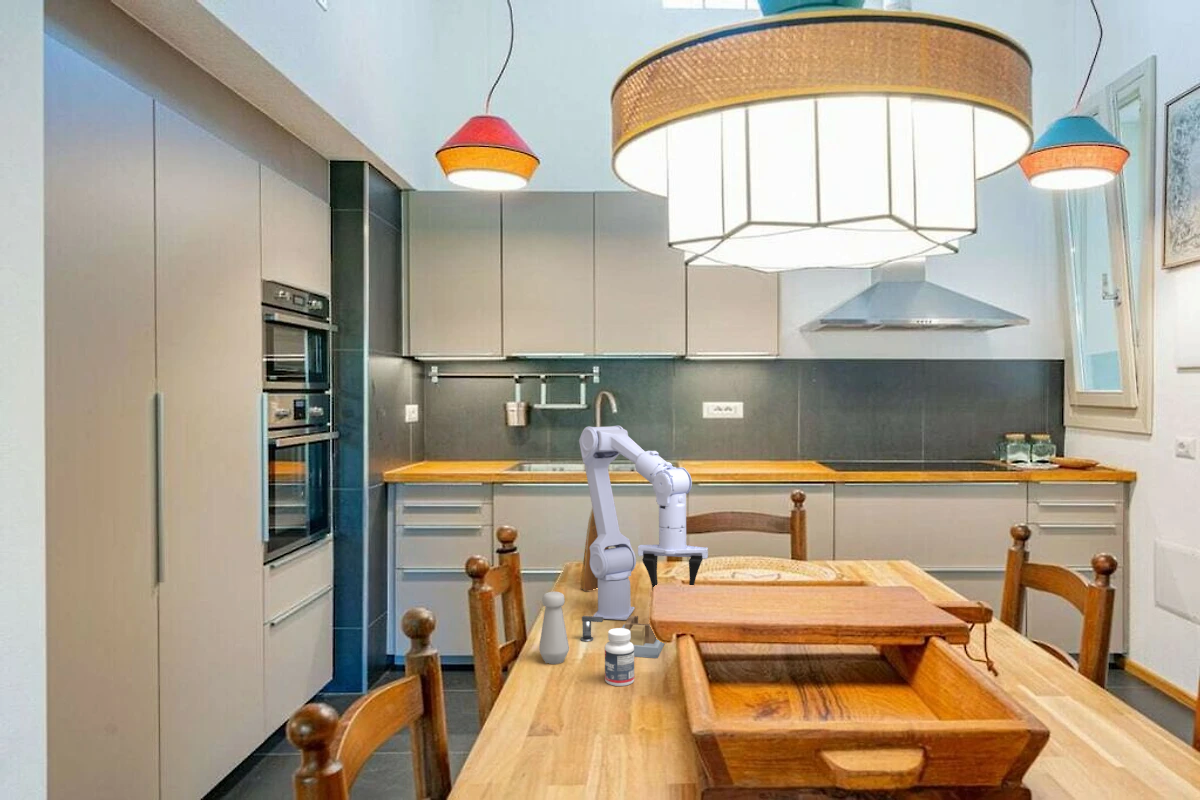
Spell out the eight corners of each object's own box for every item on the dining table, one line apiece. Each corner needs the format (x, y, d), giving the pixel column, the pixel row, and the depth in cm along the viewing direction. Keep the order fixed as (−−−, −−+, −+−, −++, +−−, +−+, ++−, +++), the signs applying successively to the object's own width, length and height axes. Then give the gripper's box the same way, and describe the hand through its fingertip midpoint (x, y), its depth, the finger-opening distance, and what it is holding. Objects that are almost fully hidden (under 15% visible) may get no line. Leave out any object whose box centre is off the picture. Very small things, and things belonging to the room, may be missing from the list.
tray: (624, 633, 154) (624, 624, 154) (668, 636, 152) (667, 627, 152) (610, 654, 142) (609, 644, 142) (657, 658, 140) (657, 648, 139)
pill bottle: (600, 677, 130) (600, 628, 130) (627, 673, 132) (627, 625, 132) (611, 688, 125) (610, 637, 125) (639, 684, 127) (638, 633, 127)
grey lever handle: (582, 637, 152) (582, 614, 152) (604, 638, 151) (604, 615, 151) (579, 641, 150) (579, 618, 150) (601, 642, 149) (600, 619, 149)
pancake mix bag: (619, 577, 204) (618, 478, 204) (599, 594, 186) (598, 486, 186) (596, 575, 206) (595, 477, 206) (574, 592, 188) (573, 485, 188)
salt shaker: (571, 655, 141) (570, 589, 141) (567, 666, 136) (566, 597, 136) (541, 654, 142) (541, 588, 142) (536, 665, 136) (535, 596, 136)
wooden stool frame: (630, 632, 153) (630, 615, 153) (658, 634, 152) (658, 617, 152) (621, 647, 144) (621, 629, 144) (650, 649, 143) (650, 631, 143)
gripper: (634, 528, 149) (635, 593, 149) (705, 530, 146) (705, 597, 146) (641, 522, 156) (641, 585, 156) (708, 524, 152) (709, 588, 152)
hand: (673, 590), depth 151 cm, fingers open, 7 cm apart
